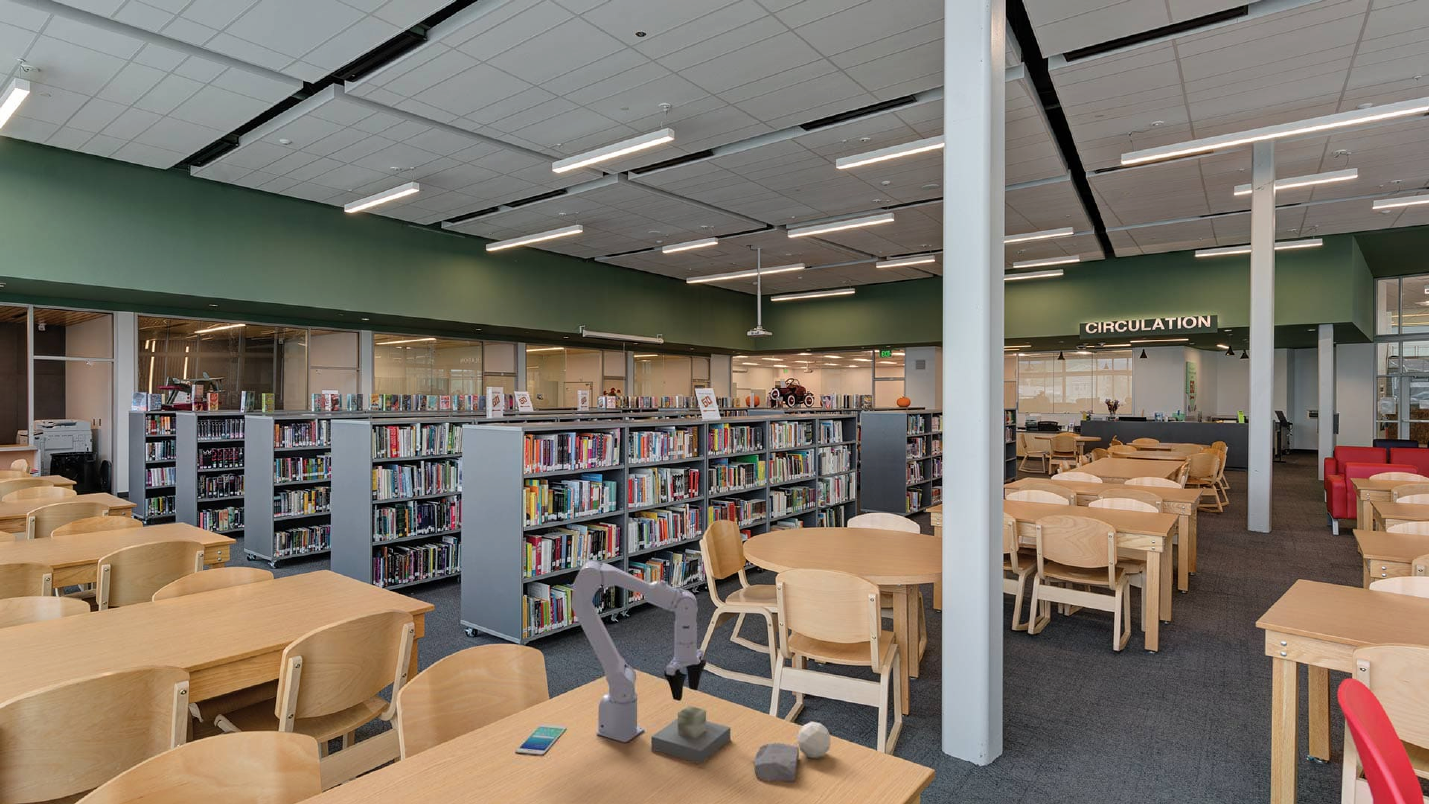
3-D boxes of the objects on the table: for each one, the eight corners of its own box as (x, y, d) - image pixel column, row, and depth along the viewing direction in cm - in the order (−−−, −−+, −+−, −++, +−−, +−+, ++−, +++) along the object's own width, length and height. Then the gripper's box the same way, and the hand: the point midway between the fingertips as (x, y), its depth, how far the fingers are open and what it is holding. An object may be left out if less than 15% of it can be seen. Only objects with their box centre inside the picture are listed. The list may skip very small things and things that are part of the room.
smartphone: (567, 726, 181) (543, 754, 167) (567, 729, 181) (543, 757, 167) (540, 723, 183) (514, 751, 168) (540, 727, 183) (514, 754, 168)
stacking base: (651, 749, 170) (651, 736, 170) (683, 726, 182) (683, 714, 182) (700, 764, 163) (700, 751, 163) (730, 739, 175) (730, 727, 175)
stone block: (754, 788, 156) (798, 783, 155) (750, 766, 157) (794, 761, 155) (760, 763, 168) (801, 759, 167) (756, 743, 169) (797, 738, 167)
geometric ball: (805, 768, 167) (785, 738, 168) (825, 745, 172) (805, 717, 173) (823, 764, 161) (802, 733, 163) (843, 741, 166) (822, 711, 168)
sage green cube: (677, 733, 172) (677, 713, 172) (688, 725, 176) (688, 705, 176) (695, 738, 169) (695, 717, 169) (705, 730, 174) (706, 710, 174)
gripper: (683, 652, 171) (683, 708, 171) (713, 635, 184) (713, 687, 184) (659, 646, 175) (659, 701, 175) (690, 631, 188) (690, 682, 187)
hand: (685, 694), depth 180 cm, fingers open, 7 cm apart
